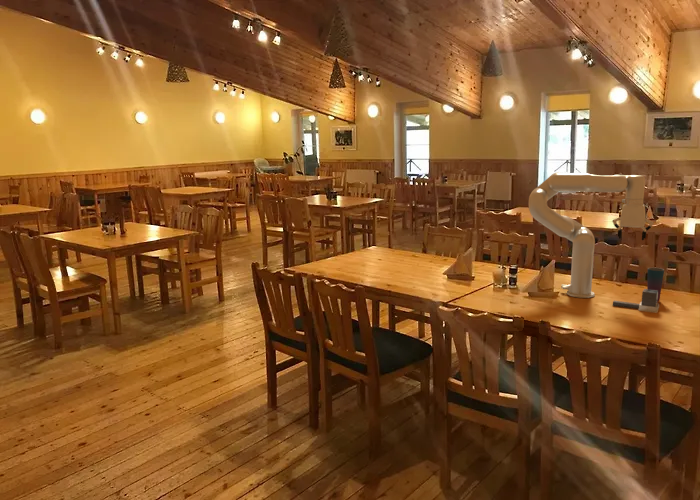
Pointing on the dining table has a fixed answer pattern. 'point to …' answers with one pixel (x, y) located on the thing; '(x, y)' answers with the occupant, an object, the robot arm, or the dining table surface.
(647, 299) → the socket
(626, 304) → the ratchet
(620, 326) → the dining table surface
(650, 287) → the cup
